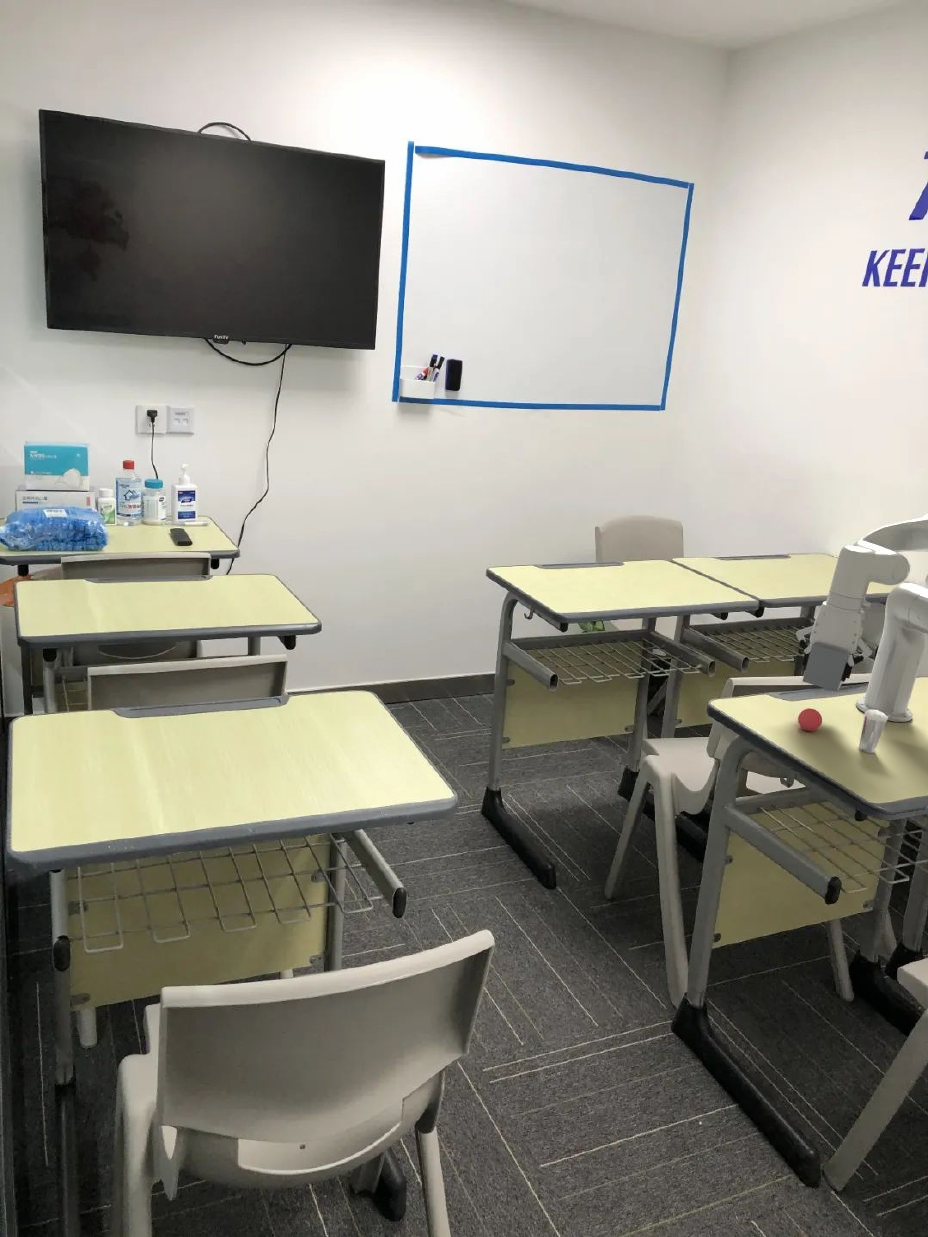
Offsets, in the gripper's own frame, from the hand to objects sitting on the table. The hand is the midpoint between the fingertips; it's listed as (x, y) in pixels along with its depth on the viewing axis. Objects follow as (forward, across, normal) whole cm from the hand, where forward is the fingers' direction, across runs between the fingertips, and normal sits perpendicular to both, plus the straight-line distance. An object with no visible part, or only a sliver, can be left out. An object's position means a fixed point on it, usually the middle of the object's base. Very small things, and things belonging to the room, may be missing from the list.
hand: (824, 674), depth 213 cm
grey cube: (+2, 0, 0) cm, 2 cm away
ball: (+8, 0, +10) cm, 13 cm away
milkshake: (+11, -14, +11) cm, 21 cm away
